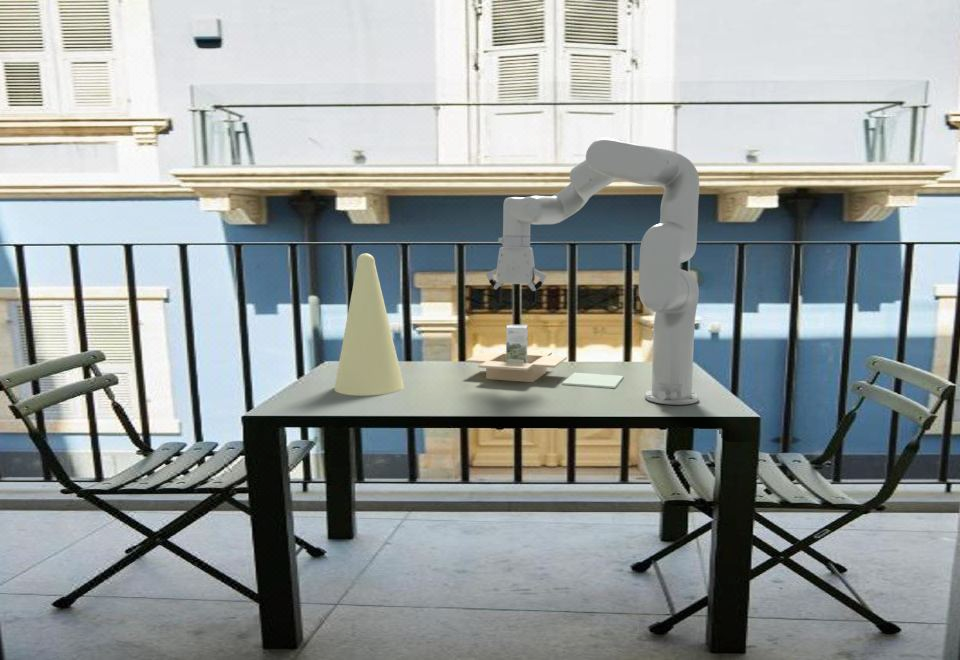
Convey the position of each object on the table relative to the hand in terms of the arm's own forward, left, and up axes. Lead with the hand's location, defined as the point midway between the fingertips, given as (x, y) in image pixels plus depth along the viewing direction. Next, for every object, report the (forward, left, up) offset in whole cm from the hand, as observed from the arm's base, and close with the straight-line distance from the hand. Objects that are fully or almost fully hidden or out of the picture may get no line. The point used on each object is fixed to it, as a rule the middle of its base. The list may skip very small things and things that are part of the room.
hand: (515, 303), depth 197 cm
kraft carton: (0, 0, -21) cm, 21 cm away
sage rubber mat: (0, -22, -21) cm, 30 cm away
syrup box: (0, 0, -21) cm, 21 cm away
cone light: (-24, +34, -21) cm, 46 cm away
